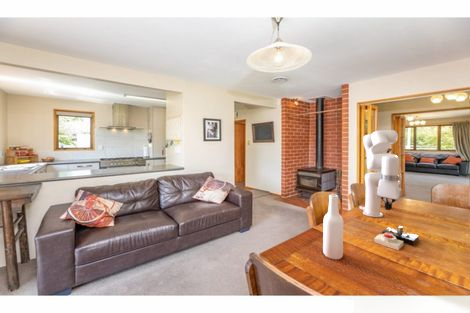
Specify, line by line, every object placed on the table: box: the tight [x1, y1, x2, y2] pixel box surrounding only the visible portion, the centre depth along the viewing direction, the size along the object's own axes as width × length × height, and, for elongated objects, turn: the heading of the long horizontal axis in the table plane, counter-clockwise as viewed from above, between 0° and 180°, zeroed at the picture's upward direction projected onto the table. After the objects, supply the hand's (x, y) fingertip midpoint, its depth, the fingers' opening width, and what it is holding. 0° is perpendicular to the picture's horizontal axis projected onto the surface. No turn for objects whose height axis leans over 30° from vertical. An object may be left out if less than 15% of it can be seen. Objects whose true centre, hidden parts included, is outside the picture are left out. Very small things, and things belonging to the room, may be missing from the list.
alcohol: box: [322, 193, 345, 260], centre depth 99 cm, size 9×9×30 cm
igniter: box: [373, 233, 404, 251], centre depth 110 cm, size 11×8×4 cm
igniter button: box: [384, 233, 393, 238], centre depth 110 cm, size 4×4×2 cm
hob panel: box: [381, 226, 419, 247], centre depth 115 cm, size 14×10×3 cm
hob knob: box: [396, 225, 404, 235], centre depth 115 cm, size 5×1×4 cm, turn 127°
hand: (388, 209), depth 115 cm, fingers closed
